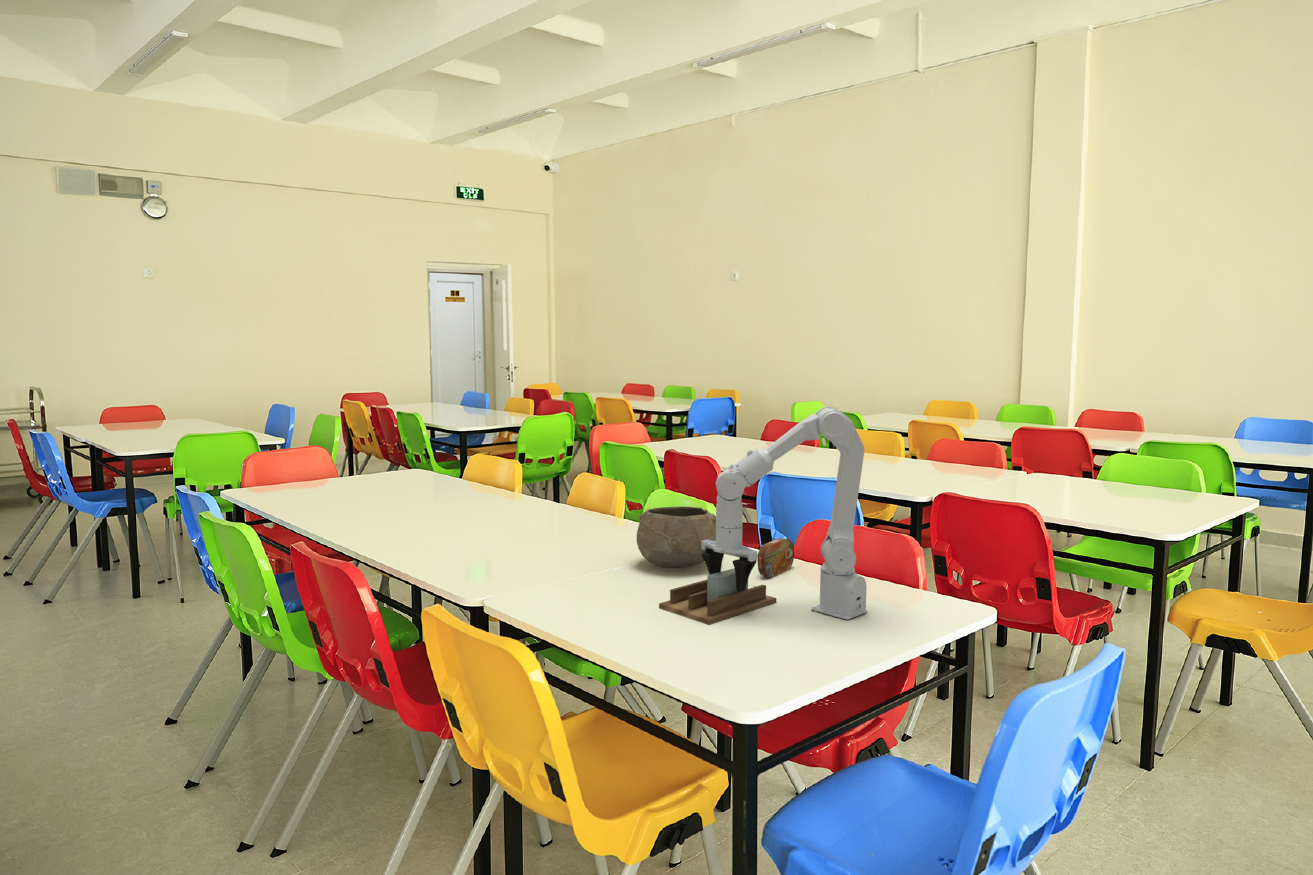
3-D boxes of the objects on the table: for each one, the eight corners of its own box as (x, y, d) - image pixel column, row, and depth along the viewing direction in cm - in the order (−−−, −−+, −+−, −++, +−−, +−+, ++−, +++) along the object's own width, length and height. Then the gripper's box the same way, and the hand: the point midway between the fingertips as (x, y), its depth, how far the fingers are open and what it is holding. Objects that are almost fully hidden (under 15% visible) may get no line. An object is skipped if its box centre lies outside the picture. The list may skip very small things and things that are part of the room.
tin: (765, 581, 207) (766, 547, 206) (754, 578, 209) (755, 545, 208) (795, 568, 219) (795, 536, 218) (784, 566, 221) (784, 534, 220)
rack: (776, 602, 190) (776, 585, 190) (709, 624, 175) (709, 605, 174) (726, 588, 201) (726, 571, 200) (659, 607, 186) (659, 590, 185)
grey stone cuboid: (747, 600, 188) (748, 569, 187) (717, 610, 181) (717, 578, 180) (737, 597, 190) (738, 566, 189) (707, 606, 183) (707, 575, 183)
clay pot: (620, 565, 221) (620, 508, 219) (678, 552, 234) (678, 499, 233) (676, 583, 205) (676, 521, 203) (734, 567, 219) (735, 510, 217)
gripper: (692, 523, 186) (691, 583, 188) (742, 534, 176) (741, 598, 177) (714, 518, 191) (713, 577, 193) (764, 529, 181) (763, 591, 182)
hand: (728, 587), depth 185 cm, fingers open, 7 cm apart
